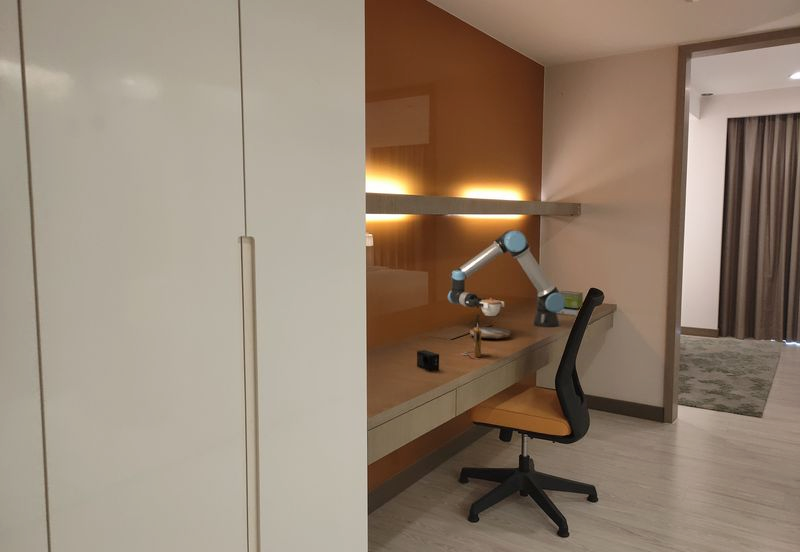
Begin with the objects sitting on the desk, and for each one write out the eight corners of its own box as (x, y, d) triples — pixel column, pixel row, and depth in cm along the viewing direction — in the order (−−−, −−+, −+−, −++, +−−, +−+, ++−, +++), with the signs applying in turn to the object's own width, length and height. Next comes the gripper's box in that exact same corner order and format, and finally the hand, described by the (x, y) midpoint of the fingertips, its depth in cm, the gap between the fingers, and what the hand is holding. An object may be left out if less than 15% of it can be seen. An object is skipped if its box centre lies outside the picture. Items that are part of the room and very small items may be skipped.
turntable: (491, 328, 349) (491, 325, 349) (519, 335, 331) (519, 331, 331) (461, 332, 337) (461, 329, 336) (489, 339, 319) (489, 336, 319)
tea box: (555, 313, 414) (556, 291, 412) (560, 311, 422) (561, 290, 420) (577, 315, 405) (578, 293, 404) (582, 313, 413) (583, 292, 412)
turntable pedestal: (490, 334, 341) (490, 332, 341) (503, 337, 333) (503, 335, 333) (477, 336, 335) (477, 334, 335) (489, 339, 327) (489, 337, 327)
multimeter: (458, 352, 299) (458, 311, 297) (478, 352, 298) (479, 311, 296) (460, 359, 284) (460, 316, 282) (481, 359, 284) (482, 317, 282)
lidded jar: (499, 317, 327) (500, 299, 326) (479, 316, 329) (480, 298, 328) (500, 313, 337) (501, 297, 336) (481, 312, 340) (481, 296, 339)
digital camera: (414, 366, 271) (414, 351, 270) (424, 364, 274) (424, 349, 273) (429, 371, 262) (429, 355, 261) (438, 369, 265) (439, 354, 265)
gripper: (484, 304, 354) (511, 310, 336) (453, 308, 341) (479, 313, 323) (484, 291, 353) (511, 296, 335) (453, 294, 340) (480, 299, 322)
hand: (496, 305), depth 329 cm, fingers closed on lidded jar, 11 cm apart
